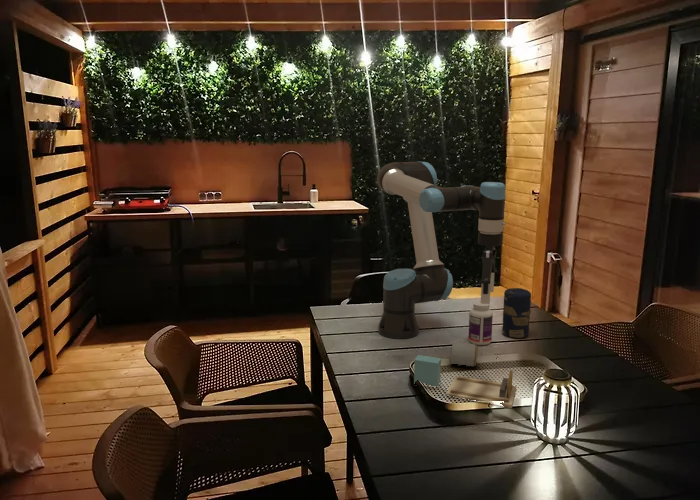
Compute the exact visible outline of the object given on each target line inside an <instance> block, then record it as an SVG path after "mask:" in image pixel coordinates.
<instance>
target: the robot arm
mask: <svg viewBox="0 0 700 500" xmlns="http://www.w3.org/2000/svg"><path fill="white" fill-rule="evenodd" d="M376 181H377V185H378V187H379V189H380V190H381V191H383V192H384V193H386V194H388V195H392V196H394V195H397V196H401V197H402V199H403V200H404V201H405V202H407V207H408V213H409V221H410V222H409V223H410V228H411V234H412V240H413V241H412V242H413V248H414V253H415V254H414V256H415V262H416V264H415V265H414V266H413V267H412V268H413V269H412V268H396V269H393V270H390V271H388V272H387V273H386V274H385V275H384V277H383V283H382V287H383V288H382V289H383V298H382V299H383V302H382V305H383V308H382V310H383V311H382V314H381V317H380V321H379V323H378V329H377V330H378V333H379V335H381V336H383V337H386V338H389V339H397V340H399V339H400V340H401V339H411V338H414V337H416V336H418V335H419V333H420V329H419V328H420V327H419V323H418V320H417V316H416V314H415V309H416V304H422V303H423V304H424V303H430V302H440V301H442V300H445V299H447V298H449V297H450V295H451V293H452V290H453V287H454V281H453V280H454V279H453V274H452V273H451V271H450V270H449V269H447V268H445V263H443V262H442V261H441V260H440V258H439V251H438V244H437V238H436V231H435V224H434V218H433V213H434V214H435V213H438V212H439V213H440V212H442V213H443V212H451V211H452V212H453V211H454V212H455V211H469V210H471V211H472V210H473V211H478V214H479V215H478V227H477V230H478V234H477V243H478V245H480V246H485V248H484V249H483V251H482V269H481V280H479V281H478V282H479V283H478V284H481V285H480V286H481V288H480V301H481V303H482V304H489V305H490V303H491V293H494V289H495V288H494V287H495V286H494V285H495V273H497V272H498V271H497V270H498V269H497V268H496V258H497V249H496V247H499V246H502V245H503V239H504V238H503V237H504V234H503V232H504V226H506V222H505V221H504V217H505V205H506V197H507V196H506V185H505V184H504V183H503V182H500V181H499V182H497V181H496V182H495V181H484V182H481V184H480V186H474V185H472V184H471V185H470V184H469V185H461V186H455V187H453V186H451V187H442V186H438V184H437V183H438V177H437V172H436V170H435V168H434V167H433V165H432V164H431V163H429V162H427V161H418V160H417V161H405V162H403V161H401V162H398V161H397V162H396V161H395V162H390V163H387V164H385V165H383V166H382V167H381V168H380V170H379V171H378V174H377V177H376Z"/></svg>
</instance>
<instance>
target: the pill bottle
mask: <svg viewBox="0 0 700 500" xmlns="http://www.w3.org/2000/svg"><path fill="white" fill-rule="evenodd" d="M472 306H473V308H471V309H470V310H469V314H468V315H469V317H468V320H469V321H468V342H469V343H471V344H475V345H477V346H478V345H479V346H486V345H489V344H491V342H492V341H493V340H492V339H493V336H492V335H493V317H494V316H493V314H494V313H493V311H492V310H491V309H490V304H482V303H481V300H480V301H478V300H477V301H474V302H473V305H472Z"/></svg>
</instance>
